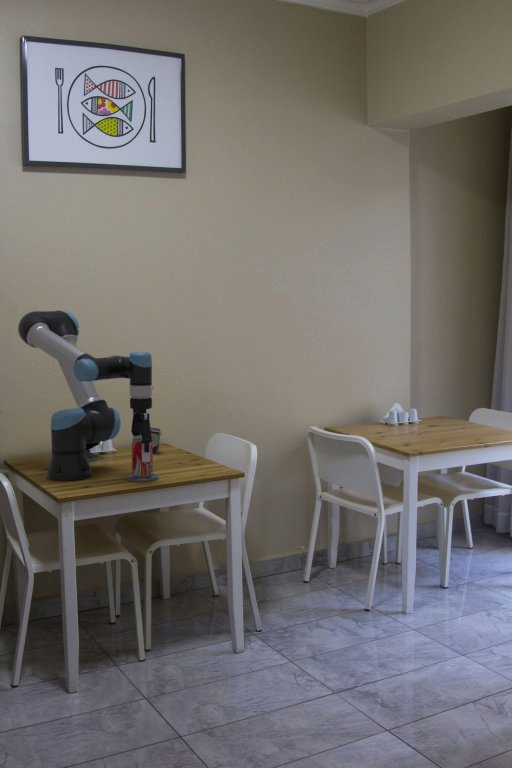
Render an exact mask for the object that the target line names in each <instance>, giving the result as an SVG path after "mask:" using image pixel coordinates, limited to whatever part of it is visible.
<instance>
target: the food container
mask: <svg viewBox="0 0 512 768" xmlns="http://www.w3.org/2000/svg"><path fill="white" fill-rule="evenodd" d="M150 428H151V437H152V442H151V443H152V454H154V455H153V456H159V453H160V451H159V450H160V441H161V436H162V430H161V428H159V427H151V426H150ZM139 436H141V438H142V435H139Z"/></svg>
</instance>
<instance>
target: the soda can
mask: <svg viewBox="0 0 512 768" xmlns="http://www.w3.org/2000/svg"><path fill="white" fill-rule="evenodd" d="M141 441H143V440H142V438H137V439H133V438H132V443H131V471H132V474H131V475H133V476H134V477H136V478H148V477H151V476H152V474H154V466H153V465H154V463H153V457H154V455H152V443H151V442H150V462H142V443H141Z"/></svg>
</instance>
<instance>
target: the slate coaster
mask: <svg viewBox="0 0 512 768" xmlns="http://www.w3.org/2000/svg"><path fill="white" fill-rule="evenodd" d="M157 480H159V475H158V474H156V473H153V474H152V476H151V477H148V478H136V477H134V476H133V475H132V474H128V475H127V476H126V481H128V482H131V483H132V482H133V483H149V482H155V481H157Z"/></svg>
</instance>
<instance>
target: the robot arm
mask: <svg viewBox="0 0 512 768" xmlns="http://www.w3.org/2000/svg"><path fill="white" fill-rule="evenodd" d="M79 328H80V324H79V322H78V320H77V318H76V316H75V315H74V314H73V313H71V312H69V311H67V310H52V311H51V310H50V311H49V310H45V311H43V310H42V311H38V310H35V311H31V312H28V313H26V314H24V315H23V316H22V317H21V319H20V320H19V323H18V326H17V329H18V330H17V331H18V335H19V337H20V339H21V340H22V341H23V342H24V343H25V344H26V345H27V346H29V347H31V348H34V349H37V348H38V349H40V350H41V351H43V352H44V353H45V354H47V355H49V356H51V357H52V358H53V359H55V360H56V361H57V362H58V364H59V367H60V370H61V371H62V374H63V376H64V379H65V380H66V383H67V385H68V388H69V390H70V392H71V395H72V397H73V400H74V401H75V404H76V406H77V407H73V408H72V407H71V408H66V409H64V408H63V409H61V410H58V411H55V412H54V413H53V414H52V415H51V417H50V432H51V435H50V436H51V458H50V460H49V461H50V462H49V464H48V468H47V471H46V472H47V474H46V475H47V477H46V478H47V479H48V480H51V481H53V480H54V481H78V480H83V479H87V478H90V477H91V476H92V468H91V465H90V461H88V459H87V456H86V444H89V443H95V442H100V443H101V442H107V441H109V440H113V439H115V438H116V437H117V436H118V434H119V432H120V428H121V424H122V423H121V422H122V421H121V416H120V413H119V411H118V410H117V409H116V408H113V407H109V405H108V402H107V401H106V399H104V398H101V397H100V395H99V392H98V391H97V388H96V386H95V384H94V381H95V382H96V381H103V380H113V379H129V396H130V398H129V408H130V409H132V422H131V430H130V432H131V434H132V440H133V439H137V438H141V436H139V435H142V440H143V441H141V443H142V462H150V442H152V437H151V428H150V427H151V421H150V420H151V419H150V413H149V412H148V411H147V410H150V409H152V408H153V398H152V396H153V395H152V394H153V392H152V391H153V390H154V387H153V385H152V384H153V382H152V381H153V380H152V379H153V377H152V375H153V359H152V354H151V353H150V352H148V351H131V352H130V353H129V356H120V355H110V356H107V357H94V356H92V355H91V354H89V353H87V352H86V351H84V350H82V349H81V348H80V347H78V345H77V342H78V339H79V338H78V336H79V333H80V330H79ZM147 412H148V413H147Z"/></svg>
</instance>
